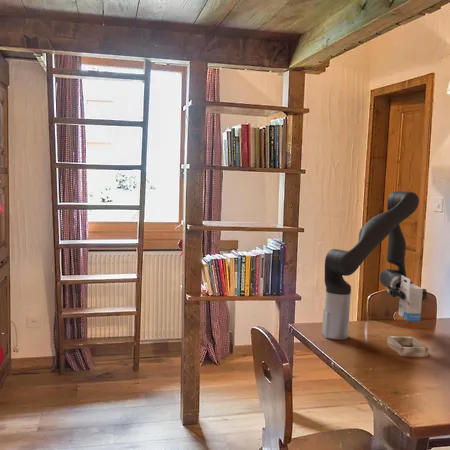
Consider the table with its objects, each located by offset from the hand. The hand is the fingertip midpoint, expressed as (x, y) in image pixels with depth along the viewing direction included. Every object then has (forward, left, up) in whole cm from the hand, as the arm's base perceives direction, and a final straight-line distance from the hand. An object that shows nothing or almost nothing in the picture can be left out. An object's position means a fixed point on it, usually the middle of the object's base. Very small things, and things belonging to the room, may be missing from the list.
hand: (412, 297), depth 176 cm
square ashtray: (0, +2, -20) cm, 20 cm away
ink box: (0, +3, -8) cm, 9 cm away
